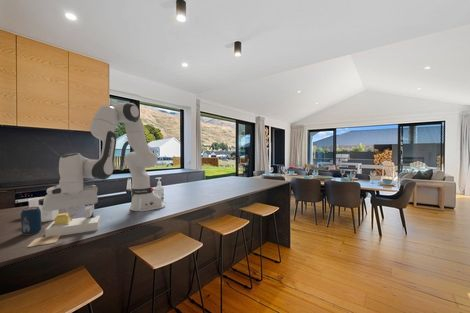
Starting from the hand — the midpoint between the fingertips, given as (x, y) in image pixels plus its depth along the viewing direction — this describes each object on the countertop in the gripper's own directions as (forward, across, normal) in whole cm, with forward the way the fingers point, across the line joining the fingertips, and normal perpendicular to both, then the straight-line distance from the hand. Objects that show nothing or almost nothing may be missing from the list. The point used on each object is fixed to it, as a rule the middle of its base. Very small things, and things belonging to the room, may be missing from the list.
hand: (72, 216), depth 98 cm
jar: (+9, +5, -37) cm, 38 cm away
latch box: (+9, -2, -7) cm, 11 cm away
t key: (+4, -8, -4) cm, 10 cm away
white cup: (+9, +8, -54) cm, 55 cm away
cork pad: (+9, +10, 0) cm, 13 cm away
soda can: (+9, +13, -17) cm, 24 cm away
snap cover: (+5, +3, -8) cm, 10 cm away
